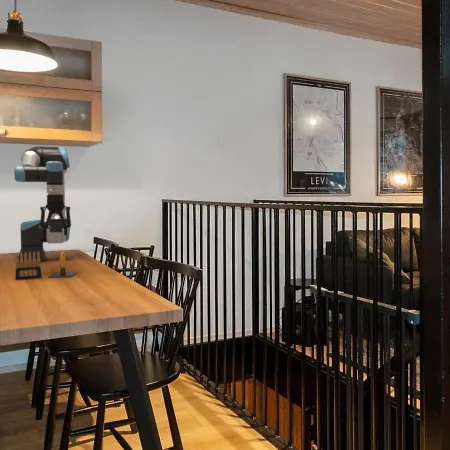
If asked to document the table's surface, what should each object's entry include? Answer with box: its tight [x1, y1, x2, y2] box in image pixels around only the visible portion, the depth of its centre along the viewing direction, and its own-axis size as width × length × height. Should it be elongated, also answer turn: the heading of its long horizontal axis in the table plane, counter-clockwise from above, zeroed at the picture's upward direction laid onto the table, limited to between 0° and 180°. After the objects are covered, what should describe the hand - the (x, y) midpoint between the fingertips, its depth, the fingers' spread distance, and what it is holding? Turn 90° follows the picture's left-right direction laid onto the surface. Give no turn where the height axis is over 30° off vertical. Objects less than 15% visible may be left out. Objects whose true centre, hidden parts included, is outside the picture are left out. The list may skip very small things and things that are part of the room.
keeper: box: [47, 251, 78, 279], centre depth 218 cm, size 12×10×11 cm
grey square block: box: [46, 232, 65, 244], centre depth 227 cm, size 6×6×5 cm
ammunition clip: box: [14, 251, 43, 281], centre depth 210 cm, size 11×2×12 cm, turn 118°
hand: (56, 242), depth 227 cm, fingers closed on grey square block, 6 cm apart
